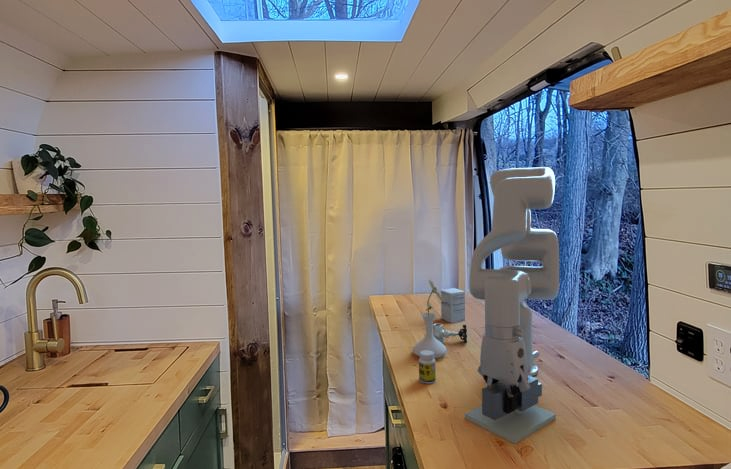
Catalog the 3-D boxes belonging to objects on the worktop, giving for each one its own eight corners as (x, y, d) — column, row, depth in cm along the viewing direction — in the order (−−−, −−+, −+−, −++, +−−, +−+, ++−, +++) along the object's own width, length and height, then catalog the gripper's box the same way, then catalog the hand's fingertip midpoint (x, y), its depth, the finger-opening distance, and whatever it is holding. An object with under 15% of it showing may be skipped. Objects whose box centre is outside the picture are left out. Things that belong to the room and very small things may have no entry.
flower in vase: (443, 363, 140) (441, 286, 138) (408, 359, 144) (406, 284, 142) (451, 349, 152) (449, 277, 150) (418, 345, 156) (416, 276, 154)
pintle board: (512, 391, 119) (512, 369, 119) (565, 413, 107) (565, 388, 107) (461, 416, 107) (461, 392, 107) (514, 443, 95) (514, 416, 95)
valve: (432, 345, 156) (467, 346, 155) (432, 327, 156) (467, 327, 154) (432, 339, 163) (465, 339, 161) (431, 321, 162) (465, 322, 161)
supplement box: (440, 319, 187) (440, 289, 186) (455, 316, 190) (454, 287, 189) (451, 323, 180) (450, 293, 179) (465, 320, 183) (465, 290, 182)
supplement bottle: (416, 381, 128) (415, 353, 127) (424, 375, 132) (423, 348, 131) (430, 385, 125) (429, 356, 124) (438, 379, 129) (438, 351, 128)
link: (525, 388, 112) (525, 366, 112) (548, 397, 107) (548, 373, 107) (477, 411, 102) (476, 386, 101) (500, 423, 96) (500, 396, 96)
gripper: (545, 335, 96) (544, 416, 98) (483, 319, 109) (484, 391, 111) (524, 343, 91) (524, 428, 93) (462, 325, 105) (464, 400, 106)
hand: (502, 407), depth 102 cm, fingers closed on link, 3 cm apart
